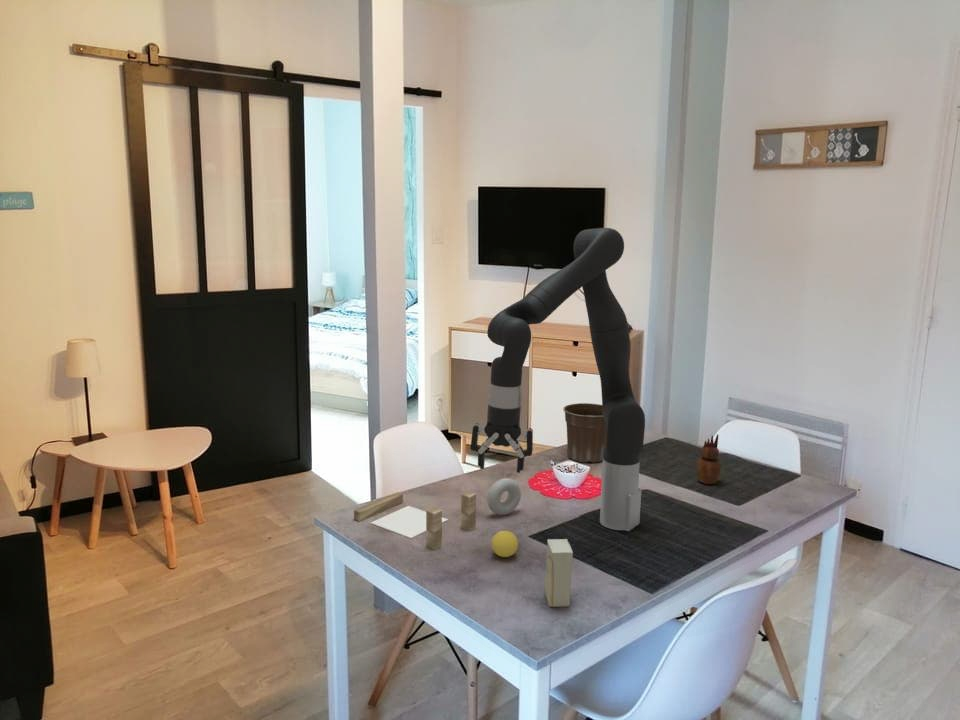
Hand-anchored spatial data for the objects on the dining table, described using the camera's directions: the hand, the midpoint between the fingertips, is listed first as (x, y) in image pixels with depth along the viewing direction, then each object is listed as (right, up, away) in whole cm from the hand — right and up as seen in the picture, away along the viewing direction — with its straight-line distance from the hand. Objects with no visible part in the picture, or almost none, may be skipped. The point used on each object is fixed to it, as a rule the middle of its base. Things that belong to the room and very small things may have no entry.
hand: (500, 469), depth 175 cm
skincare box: (+11, -24, -20) cm, 33 cm away
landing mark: (-23, -16, +17) cm, 33 cm away
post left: (-16, -19, +4) cm, 25 cm away
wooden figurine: (+63, -11, +47) cm, 79 cm away
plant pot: (+30, -6, +68) cm, 74 cm away
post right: (-8, -17, +14) cm, 23 cm away
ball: (+1, -17, -1) cm, 17 cm away
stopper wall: (-31, -14, +24) cm, 42 cm away
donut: (+2, -15, +22) cm, 27 cm away
